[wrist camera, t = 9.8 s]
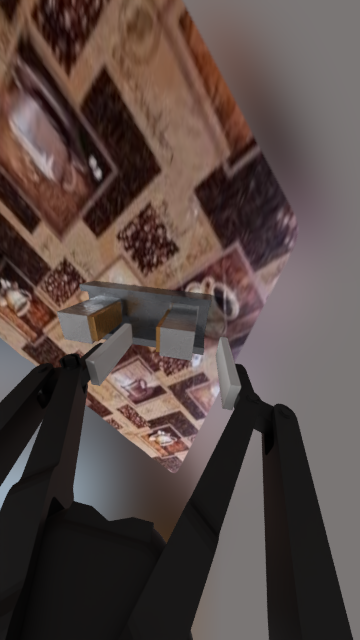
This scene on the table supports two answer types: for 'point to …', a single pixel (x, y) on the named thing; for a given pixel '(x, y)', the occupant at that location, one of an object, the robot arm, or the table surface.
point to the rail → (129, 312)
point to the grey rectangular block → (176, 332)
